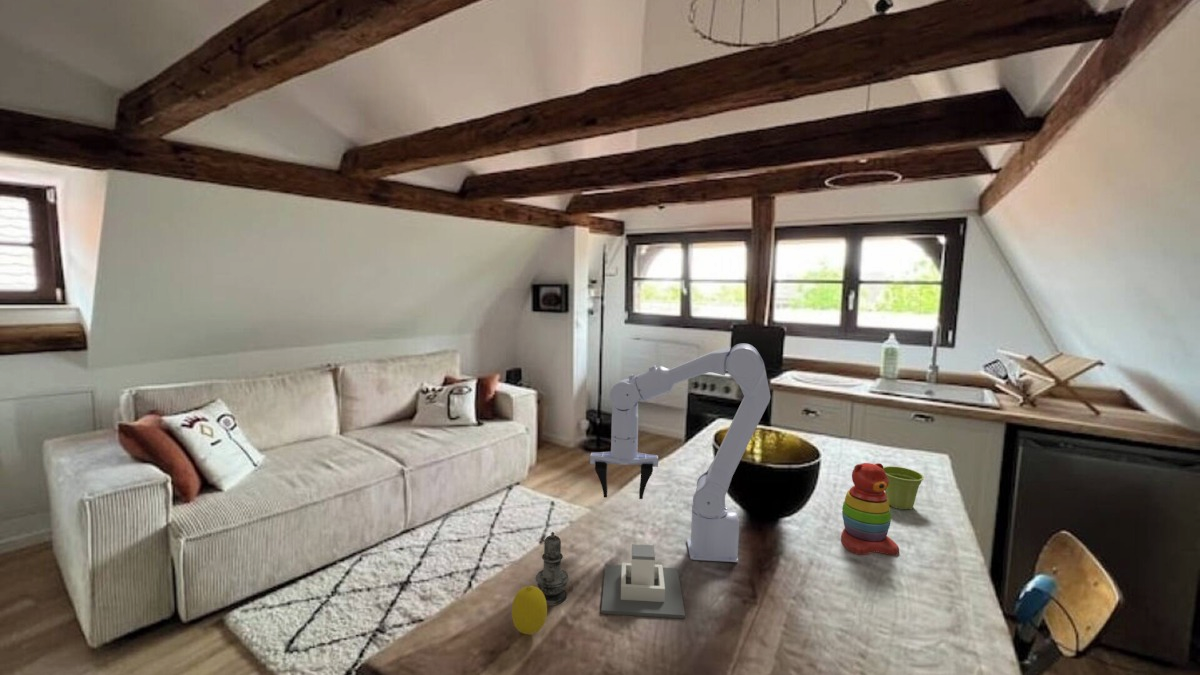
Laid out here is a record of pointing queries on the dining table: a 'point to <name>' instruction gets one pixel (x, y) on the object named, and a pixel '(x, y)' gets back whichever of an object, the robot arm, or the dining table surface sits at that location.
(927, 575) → the dining table surface
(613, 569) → the socket base
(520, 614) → the lemon
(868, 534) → the stacking bear
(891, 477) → the plant pot
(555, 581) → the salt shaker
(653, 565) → the plug
